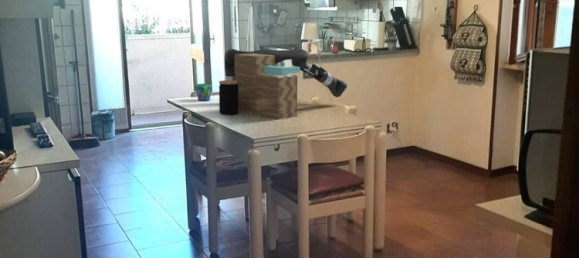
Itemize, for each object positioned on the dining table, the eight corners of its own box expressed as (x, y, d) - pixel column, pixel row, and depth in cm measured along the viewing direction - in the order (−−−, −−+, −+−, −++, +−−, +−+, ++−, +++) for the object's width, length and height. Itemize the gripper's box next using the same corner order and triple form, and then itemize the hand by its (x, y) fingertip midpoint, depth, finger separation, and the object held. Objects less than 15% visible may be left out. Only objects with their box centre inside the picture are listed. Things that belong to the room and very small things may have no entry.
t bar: (281, 75, 299) (281, 68, 298) (263, 73, 308) (263, 66, 308) (306, 73, 312) (306, 65, 311) (288, 71, 322) (288, 64, 321)
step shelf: (278, 119, 299) (278, 58, 293) (235, 110, 324) (234, 54, 318) (296, 116, 309) (297, 57, 302) (253, 107, 334) (253, 53, 327)
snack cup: (194, 98, 365) (194, 83, 363) (211, 98, 367) (211, 82, 365) (196, 102, 350) (195, 86, 348) (213, 102, 353) (213, 85, 350)
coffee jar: (241, 112, 318) (241, 80, 314) (233, 115, 308) (233, 83, 304) (224, 111, 321) (224, 79, 318) (216, 114, 311) (215, 82, 308)
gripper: (316, 70, 338) (300, 57, 327) (334, 72, 328) (318, 59, 317) (312, 81, 337) (295, 69, 326) (330, 84, 327) (313, 71, 316)
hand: (307, 64), depth 321 cm, fingers open, 8 cm apart
